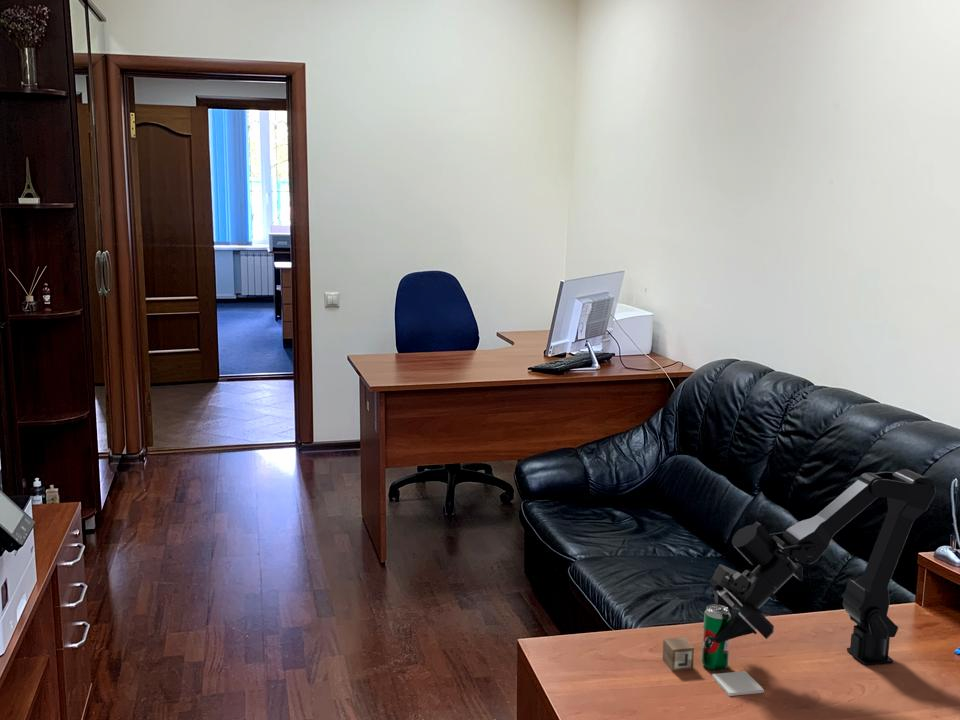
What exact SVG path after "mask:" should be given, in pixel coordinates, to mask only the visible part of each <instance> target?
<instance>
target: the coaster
mask: <svg viewBox="0 0 960 720" xmlns="http://www.w3.org/2000/svg"><path fill="white" fill-rule="evenodd" d="M711 678H712V679H713V680H714V681H715V682H716V683H717V685H718V686H719V687H720V688H721V689H722V690H723V691H724V690H725V691H724V692H725V694H726V695H728V697H732V696H733V697H734V696H740V695H742V696H743V695H752V694H762V693H764V691H765V690H764V689H763V687H762V686H761V685H760V684H759V683H758V682H757V681H756V680H755V679H754V678H753V677H752V676H751V675H750V674H749V673H748V672H747V671H746V670H743V671H733V672H732V671H731V672H721V673H720V672H719V673H712V674H711Z"/></svg>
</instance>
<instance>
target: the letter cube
mask: <svg viewBox="0 0 960 720" xmlns="http://www.w3.org/2000/svg"><path fill="white" fill-rule="evenodd" d="M662 641H663V643H662V645H663V646H662V661H663V662H664V663H665V665H666V666H667V667H668V668H669V670H670V671H673V672H674V671H683V670H693V669H694V660H695V659H694V657H695V647H694V646H693V645H692V644H691V643H690V642H689V641H688V639H686V637H685V636H684V637H674V638H663V640H662Z"/></svg>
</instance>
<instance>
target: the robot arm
mask: <svg viewBox="0 0 960 720" xmlns="http://www.w3.org/2000/svg"><path fill="white" fill-rule="evenodd" d="M936 489H937V488H936V487H935V485H934V483H933V481H932V480H931V479H929V478H927V477H925V476H924V475H921V474H919V473H916V472H914V471H912V470H910V469H907V468H903V469H902V468H901V469H899V470H898V471H894V472H893V471H879V472H863V473H862V474H860V475H859V476H858V478H857V480H855V482H854V483H853V484H851V485H850V486H848V488H847V489H845V490H843V492H842V493H841V494H840V495H838V496H837V497H836V498H835V499H834V500H833V501H831V502H830V503H829V504H828V505H826V506H825V507H824V508H823V509H822V510H820V511H819V512H818V513H817V514H816V515H814V516H812V517H810V518H807V519H803V520H801V521H797V522H796V523H795V524H793V525H791V526H790V527H788V528H787V529H785V530H784V531H780V532H774V533H769V532H768V531H767V529H766V528H765V527H764V525H763V524H761V523H760V522H758V521H755V522H754V523H753V524H750V525H749V524H748V525H746V526H744V527H742V528H739V529H738V530H737V531H736V532H735V533H734V534H733V537H732V539H731V545H732V546H733V547H734V549H736V550H737V551H738V553H740V555H742V556H743V558H745V560H746V561H747V562H749V564H751V565H752V566H756V567H755V568H754V569H753V570H752V571H751V570H749V569H745V570H744V571H743V572H742V573H741V572H739V571H737V570H735V569H732V568H730V567H728V566H726V565H723V564H718V566H717V567H716V569H715V572H714V574H713V576H712V577H711V578H710V579H709V580H708V582H709V583H710V584H711V586H712V587H713V588H715V589H713V590H712V593H713V595H714V596H713V597H714V601H713V602H714V603H713V604H717V605H722V606H725V607H727V608H728V609H729V613H730V614H731V618H730V619H729V621H728V622H727V623H726V624H725V625H724V626H723V628H722V629H721V630H720V631H719V632H718V633H717V635H716V636H715V638H714V641H715V642H716V643H720V642H723V641H726V640H729V641H730V640H732V639H735V638H738V637H744V636H747V635H751V634H754V635H757V634H758V632H759V633H760V634H761V636H763V637H764V638H765V640H768V638H770V636H772V635H773V634H774V630H775V626H774V624H773V623H771V621H769V620H768V619H767V617H765V616H764V614H762V613H763V612H762V610H761V609H760V608H761V607H762V606H764V604H765V603H767V601H768V600H769V599H770V600H772V601H773V602H774V601H775V600H776V599H777V598H778V597H777V595H775V594H776V593H777V592H778V590H780V588H782V587H783V586H784V584H785V583H787V582H788V580H790V579H791V578H792V577H793V576H794V577H795V578H796V579H798V580H799V581H800V582H801V581H803V580H804V574H803V573H804V572H803V570H804V567H803V566H802V565H801V564H804V565H805V564H806V565H812V564H814V563H815V562H817V561H818V560H819V559H820V557H821V556H822V555H824V553H825V552H826V550H828V548H829V546H830V542H831V540H832V539H833V537H834V536H835V535H836V533H838V532H839V531H840V530H841V529H843V528H844V527H845V526H846V525H847V524H848V523H850V522H851V521H852V520H854V518H856V517H857V516H858V515H859V514H861V513H862V512H863V511H864V510H865V509H866V508H867V507H868V506H870V505H871V504H872V503H873V502H874V501H876V500H877V499H878V498H886V500H887V502H886V503H887V513H886V515H885V517H884V520H883V523H882V526H881V528H880V531H879V533H878V536H877V538H876V540H875V543H874V545H873V549H872V552H871V554H870V555H869V559H868V562H867V563H866V566H865V569H864V572H863V573H862V575H861V576H860V577H859V578H858V579H856V580H855V581H854V580H853V579H848V581H847V582H846V583H847V584H846V587H845V590H844V592H843V593H842V594H841V598H843V600H842V606H843V608H844V610H845V612H846V613H847V614H848V616H849V618H850V619H849V620H851V621H853V622H854V623H855V624H854V625H853V629H852V633H851V634H850V637H851V638H850V646H849V647H846V651H847V652H848V653H849V654H851V655H852V656H853V657H854V658H856V659H857V660H858V661H859V662H860V663H862V664H863V665H864V666H865V665H866V666H870V665H880V664H881V665H882V664H891V663H894V659H893V658H892V657H890V656H889V651H890V650H889V649H890V640H891V638H895V637H896V634H897V632H898V630H899V626H898V625H896V624H895V622H893V621H892V619H890V617H888V612H889V608H890V594H889V585H890V582H891V580H892V577H893V575H894V572H895V569H896V567H897V564H898V561H899V559H900V557H901V554H902V552H903V549H904V546H905V544H906V541H907V539H908V538H909V537H908V536H909V533H910V531H911V528H912V526H913V524H914V522H915V520H916V519H918V517H920V516H921V515H923V513H925V512H926V511H927V510H928V509H929V507H930V505H931V503H932V502H933V500H934V498H935V495H936V492H937V490H936ZM778 551H780V552H781V554H779V553H778ZM791 559H795V560H796V561H797V562H794V561H792V560H791ZM800 563H801V564H800ZM734 606H736V607H737V608H738V609H739V610H740V611H739V612H737V611H736V609H734V608H733V607H734ZM702 628H703V629H704V625H703V626H702ZM756 630H757V631H756Z"/></svg>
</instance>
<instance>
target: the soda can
mask: <svg viewBox="0 0 960 720" xmlns="http://www.w3.org/2000/svg"><path fill="white" fill-rule="evenodd" d="M703 615H704V616H703V626H704V628H703V630H702V631H703V633H702V634H703V635H702V637H703V638H702V649H701V650H702V653H701V663H702V665H703V666H704V667H705V668H706V669H707V670H710V671H713V672H714V671H715V672H720V671H724V670H726V669H727V668H728V667H729V659H730V658H729V656H730V655H729V654H730V653H729V651H730V640H726V641H723V642H720V643H716V642H715V641H714V638H715V636H716V635H717V633H718V632H719V631H720V630H721V629H722V628H723V626H724V625H725V624H726V623H727V622H728V621H729V619H730V618H731V614H730V613H729V609H728V608H727V607H725V606H722V605H717V604H714V603H713V604H709V605H707V606H706V609H705V610H704V614H703Z"/></svg>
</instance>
